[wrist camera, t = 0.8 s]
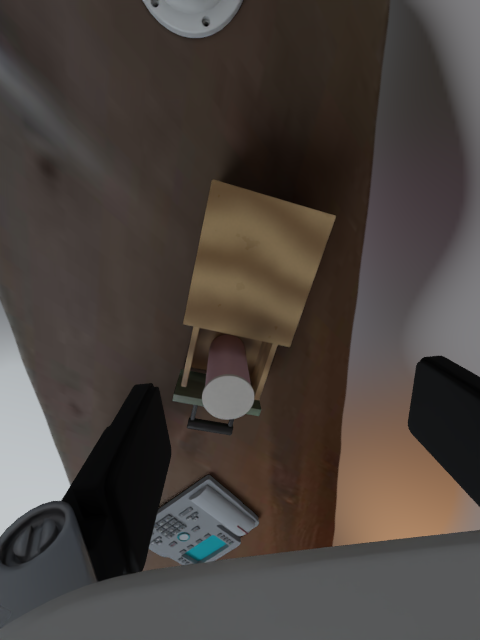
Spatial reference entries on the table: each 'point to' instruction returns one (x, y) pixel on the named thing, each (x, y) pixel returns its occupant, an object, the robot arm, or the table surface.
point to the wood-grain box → (255, 264)
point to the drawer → (194, 382)
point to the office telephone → (201, 524)
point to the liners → (227, 379)
